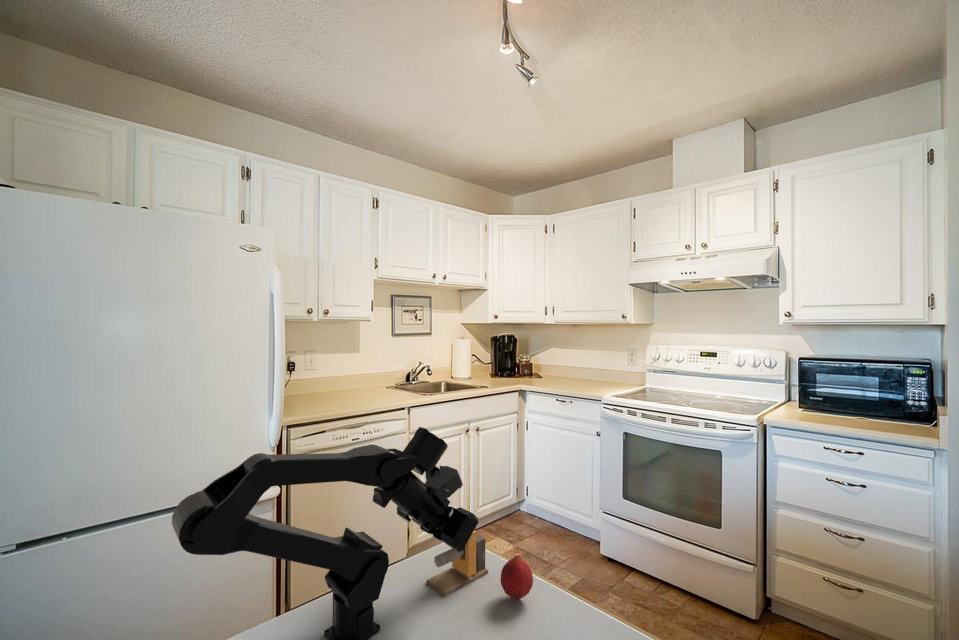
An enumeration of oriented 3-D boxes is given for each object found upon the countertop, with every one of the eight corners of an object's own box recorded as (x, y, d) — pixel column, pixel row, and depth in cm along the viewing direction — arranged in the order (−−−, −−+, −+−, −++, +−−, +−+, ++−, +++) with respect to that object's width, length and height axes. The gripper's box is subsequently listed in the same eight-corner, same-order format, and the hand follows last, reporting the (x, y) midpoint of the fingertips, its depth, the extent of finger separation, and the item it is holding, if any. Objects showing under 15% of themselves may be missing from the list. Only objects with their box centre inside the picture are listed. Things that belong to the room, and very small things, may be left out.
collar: (468, 577, 81) (468, 534, 81) (452, 566, 85) (452, 526, 85) (476, 573, 83) (476, 531, 83) (459, 562, 86) (459, 523, 87)
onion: (517, 614, 72) (517, 567, 72) (493, 598, 76) (493, 553, 77) (539, 600, 76) (539, 555, 76) (516, 585, 80) (516, 543, 80)
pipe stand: (444, 596, 77) (444, 560, 77) (426, 583, 81) (426, 548, 81) (488, 573, 84) (488, 540, 85) (469, 561, 88) (469, 530, 89)
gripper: (470, 468, 73) (513, 514, 80) (409, 446, 87) (451, 487, 94) (433, 529, 67) (483, 572, 75) (375, 495, 81) (422, 535, 88)
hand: (459, 537), depth 83 cm, fingers closed, pressing on collar
